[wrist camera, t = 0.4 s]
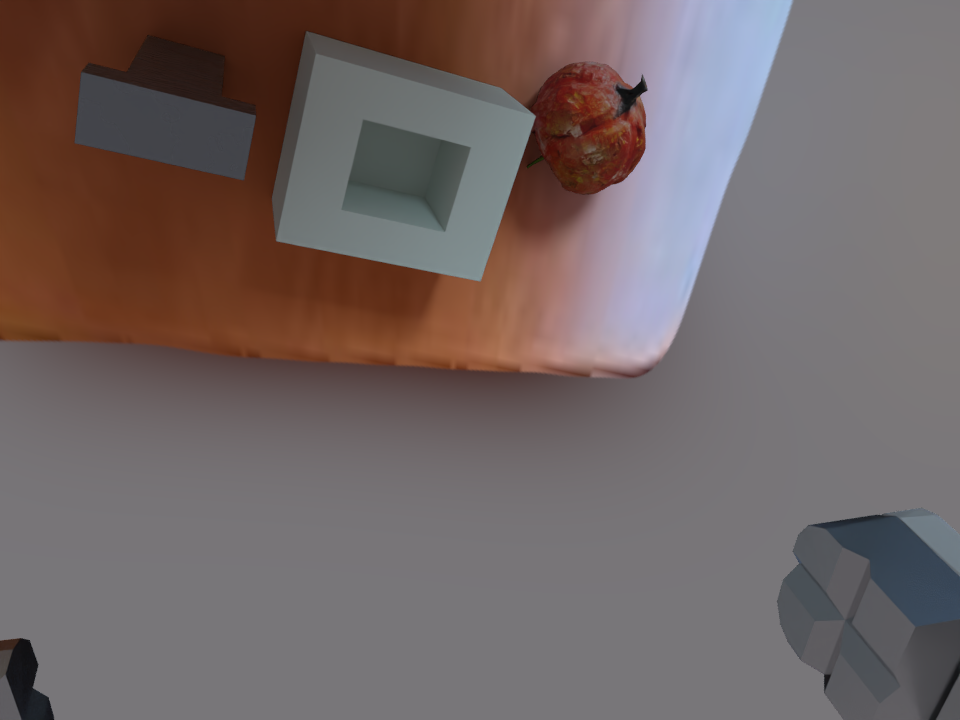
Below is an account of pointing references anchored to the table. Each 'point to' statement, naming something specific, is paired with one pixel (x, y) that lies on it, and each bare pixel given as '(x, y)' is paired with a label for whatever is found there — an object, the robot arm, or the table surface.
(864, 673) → the robot arm
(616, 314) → the table surface
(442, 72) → the well block
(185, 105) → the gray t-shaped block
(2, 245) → the table surface
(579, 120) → the pomegranate
